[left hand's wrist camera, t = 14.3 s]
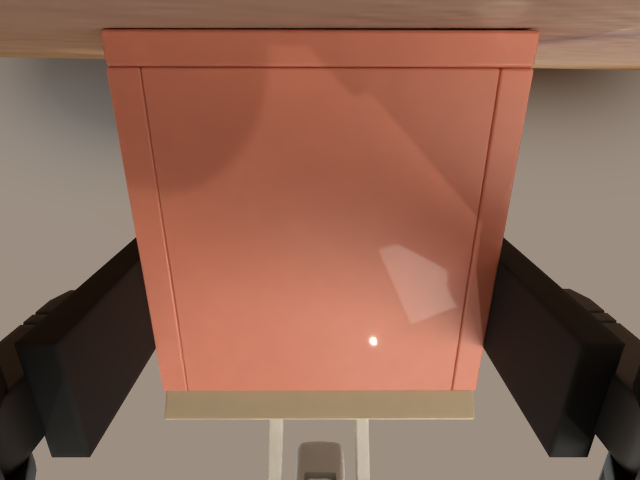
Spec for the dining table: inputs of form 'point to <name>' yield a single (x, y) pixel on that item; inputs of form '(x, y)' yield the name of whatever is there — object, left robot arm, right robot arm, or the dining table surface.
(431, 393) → the lid
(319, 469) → the right robot arm
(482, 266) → the chest
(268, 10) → the dining table surface
